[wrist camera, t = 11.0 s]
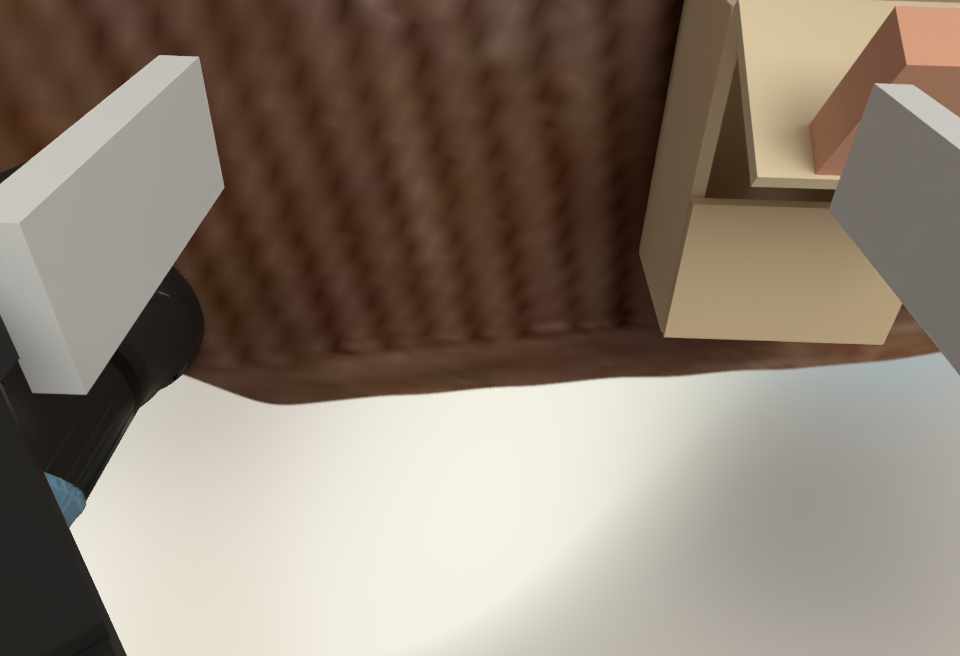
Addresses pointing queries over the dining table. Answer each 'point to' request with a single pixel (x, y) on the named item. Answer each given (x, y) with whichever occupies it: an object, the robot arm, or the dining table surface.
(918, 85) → the flap
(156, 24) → the dining table surface
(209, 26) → the dining table surface
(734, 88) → the carton
